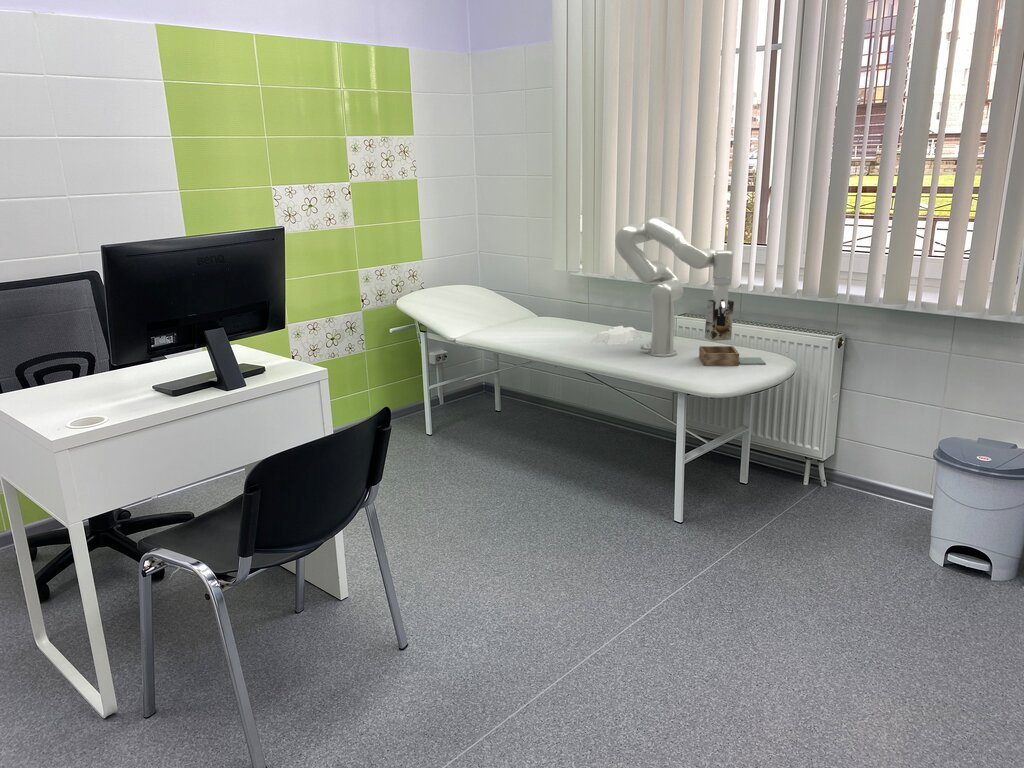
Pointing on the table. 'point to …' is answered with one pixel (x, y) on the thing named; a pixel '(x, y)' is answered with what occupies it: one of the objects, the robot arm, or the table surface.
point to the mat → (751, 361)
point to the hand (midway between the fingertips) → (718, 323)
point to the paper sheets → (617, 335)
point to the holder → (718, 356)
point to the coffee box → (711, 326)
